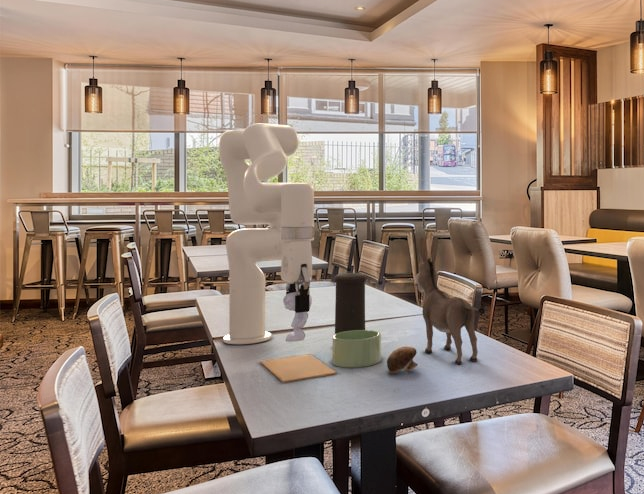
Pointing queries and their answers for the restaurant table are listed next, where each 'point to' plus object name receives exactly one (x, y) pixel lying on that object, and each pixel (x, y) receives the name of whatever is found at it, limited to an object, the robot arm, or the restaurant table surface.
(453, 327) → the toy
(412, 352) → the mushroom
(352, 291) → the container
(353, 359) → the green bowl
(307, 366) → the mat
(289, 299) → the toy figurine
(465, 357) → the restaurant table surface
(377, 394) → the restaurant table surface
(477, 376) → the restaurant table surface
